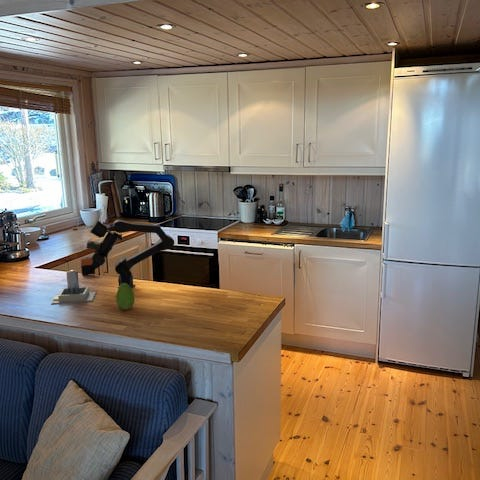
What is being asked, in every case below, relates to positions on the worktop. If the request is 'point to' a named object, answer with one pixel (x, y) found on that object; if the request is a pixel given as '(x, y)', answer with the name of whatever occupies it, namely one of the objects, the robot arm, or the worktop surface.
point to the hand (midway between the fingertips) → (91, 269)
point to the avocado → (125, 296)
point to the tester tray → (74, 296)
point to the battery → (86, 265)
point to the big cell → (73, 282)
